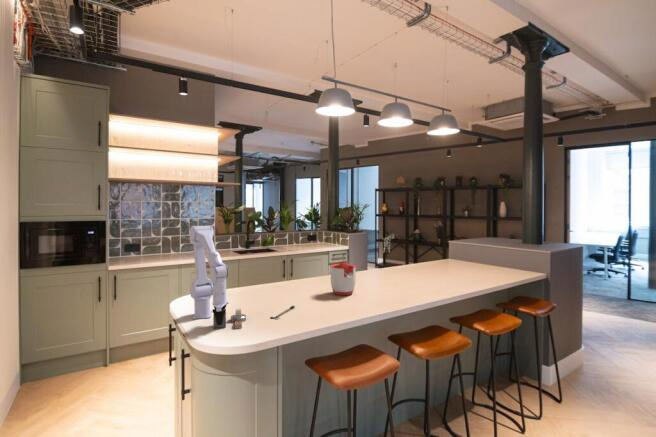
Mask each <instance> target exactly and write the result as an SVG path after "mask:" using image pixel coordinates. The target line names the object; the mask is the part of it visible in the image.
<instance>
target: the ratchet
mask: <svg viewBox="0 0 656 437" xmlns="http://www.w3.org/2000/svg"><path fill="white" fill-rule="evenodd" d="M246 321H247V315H246V314H243V313H242V309H241V308H237V309H235V314H233V315H231V316H230V322H231V323H234V329H235V330H240V329H242V328H243V323H244V322H246Z"/></svg>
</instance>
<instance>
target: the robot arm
mask: <svg viewBox="0 0 656 437" xmlns="http://www.w3.org/2000/svg"><path fill="white" fill-rule="evenodd" d="M214 232H215V231H214V227H213V226H212V225H192V226H190V228H189V232H188V234H189V242H190V244H192V245H193V256H194V268H195V279H194V280H192V282H191V283H190V289H189V291H190V297H191V298H192V299H193V300H194V313H193V317H192V319H193V320H195V319H196V320H197V319H199V320H200V319H209V318H210V319H211V317H212V314H213V315H215V319H216V323H217V325H222V323H223V316H224V313H225V311H226V310H227V309H226V308H227V305H229V304H230V301H228V300H227V278H228V276H229V267H228V266H227V264H225V262H223V260H222V257H221V254H220V253H219V252H218V251H216V247H215V244H214V241H213V238H214ZM205 251H206V252H205ZM206 253H207V255H206ZM206 259H207V263H208V264H209V268H210V272H209V274H210V278H211V279H210V278H209V277H208V276H207V275H208V274H207V264H206ZM211 298H212V306H213V308H212V311H211ZM226 312H227V311H226Z"/></svg>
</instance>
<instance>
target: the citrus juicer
mask: <svg viewBox="0 0 656 437" xmlns="http://www.w3.org/2000/svg"><path fill="white" fill-rule="evenodd" d="M356 267H357V265H355V264H351V263H347V262H345V261H344V260H342V261H341V262H340V263H335V264H331V265H330V285H331V289H332V293H333V294H334V295H338V296H349V295H352V294H353V293H354V291H355V287H356Z"/></svg>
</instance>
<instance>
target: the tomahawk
mask: <svg viewBox="0 0 656 437" xmlns="http://www.w3.org/2000/svg"><path fill="white" fill-rule="evenodd" d="M295 307H296V306H295V305H291V306H290V307H288V308H287V309H285V310H284V311H282V312H281V313H278V315H275V316H270V317H269V319H271V320H276V321H277V320H280V319H281V318H280V317H281V316H283V315H285V314H288V312H290V311H292V310H293V309H294V308H295Z"/></svg>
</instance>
